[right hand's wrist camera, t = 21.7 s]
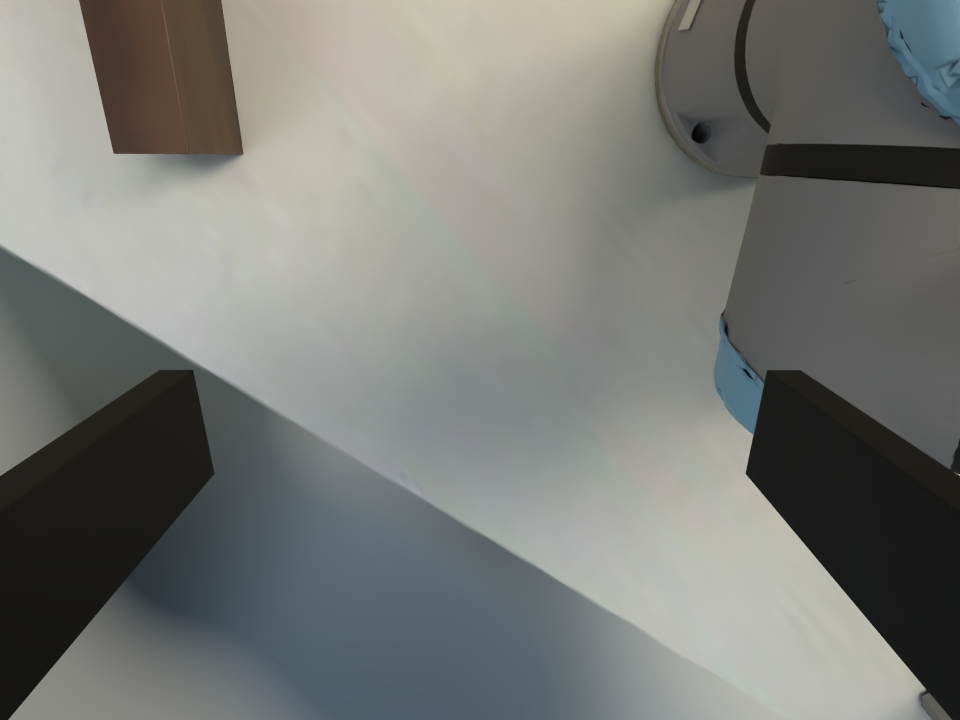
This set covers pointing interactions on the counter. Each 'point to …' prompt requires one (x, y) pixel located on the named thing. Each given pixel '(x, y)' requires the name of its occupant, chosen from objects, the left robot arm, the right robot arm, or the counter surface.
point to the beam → (164, 75)
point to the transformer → (933, 708)
